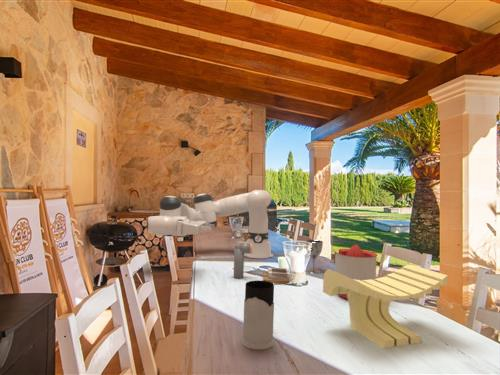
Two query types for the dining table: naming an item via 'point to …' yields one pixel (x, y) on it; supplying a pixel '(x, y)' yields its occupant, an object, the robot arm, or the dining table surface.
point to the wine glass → (315, 253)
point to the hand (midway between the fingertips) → (212, 227)
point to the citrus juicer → (355, 264)
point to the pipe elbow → (240, 258)
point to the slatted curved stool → (383, 301)
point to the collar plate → (277, 275)
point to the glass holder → (258, 315)
